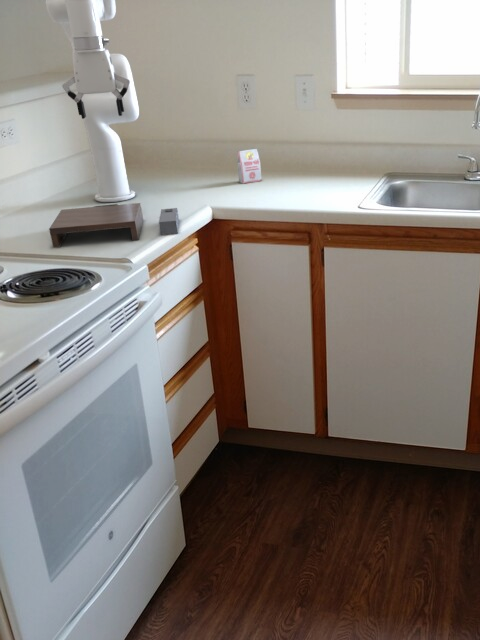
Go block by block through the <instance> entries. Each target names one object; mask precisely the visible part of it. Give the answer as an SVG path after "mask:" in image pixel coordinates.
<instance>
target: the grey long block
mask: <svg viewBox="0 0 480 640" xmlns="http://www.w3.org/2000/svg"><path fill="white" fill-rule="evenodd" d="M158 224H159V225H158V226H159V232H160V235H161V236H165V235H176V234H179V225H180V218H179V211H178V207H171V208H162V209H160V213H159V221H158Z"/></svg>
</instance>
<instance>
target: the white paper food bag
mask: <svg viewBox="0 0 480 640" xmlns="http://www.w3.org/2000/svg"><path fill="white" fill-rule="evenodd" d="M236 166H237V175H238V182H239V183H240V184H243V185H245V184H250V183H257V182H262V167H261V160H260V156H259V151H258V148H252V149H244V150H238V151H237V162H236Z"/></svg>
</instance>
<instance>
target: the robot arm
mask: <svg viewBox="0 0 480 640" xmlns="http://www.w3.org/2000/svg"><path fill="white" fill-rule="evenodd" d="M116 5H117V4H116V0H45V7H46V11H47V14H48V16H49V18H50V20H51V21H52V22H54V23H55V24H59V25H60V26H61V29H62V31H63V32H64V34H65V36H66V37H67V39H68V41H69V44H70V45H71V48H72V49H71V50H72V67H73V73H74V76H73V77H72V78H70V79H69V80H67V81H66V82H64V83H63V84H62V85H61V86H62V89H63V91H65V93H66V94H67V96H68V97H69V98H70V99H72V100H73V101H74V103H76V107H77V110H78V111H77V112H78V116H81V119H82V121H83V125H84V128H85V131H86V135H87V139H88V144H89V149H90V153H91V154H90V155H91V158H92V165H93V170H94V173H95V179H96V185H97V188H98V193H97V194H95V195H94V200H95V201H96V202H99V203H116V202H123V201H126V200H130V199H133V198H134V197H135V196H136V191H134V190H132V189H130V186H129V181H128V175H127V169H126V164H125V158H124V152H123V147H122V146H123V145H122V142H121V138H120V136H119V135H118V133H116V131H115V130H114V129H112V128H111V127H110V125H113V124H123V123H131V122H132V123H133V122H135V121H137V120H138V118H139V116H140V107H139V102H138V97H137V92H136V91H137V90H136V87H135V83H134V76H133V72H132V68H131V64H130V63H129V60H128V59H127V56H125V55H124V54H122V53H110V51H109V49H106V47H107V45H110V39H109V38H105V37H104V35H103V31H102V30H103V29H102V25H101V24H102V23H101V22H102V21H103V22H104V21H110V20H112V19H114V18H115V16H116V13H117V6H116ZM74 84H75V87H76V90H77V93H75V92H74V91H72V89H71V86H72V85H74Z"/></svg>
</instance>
